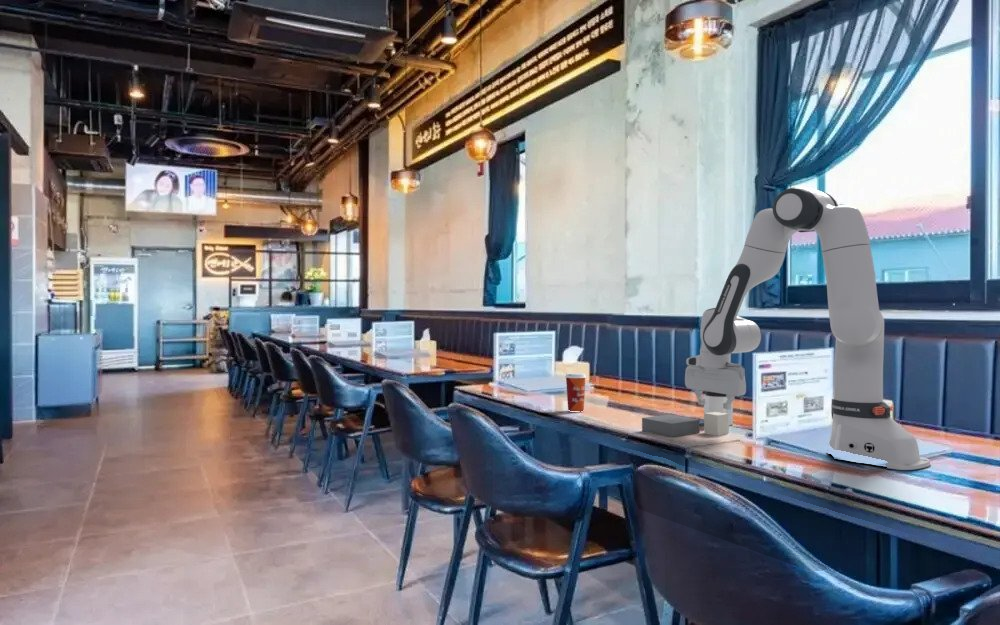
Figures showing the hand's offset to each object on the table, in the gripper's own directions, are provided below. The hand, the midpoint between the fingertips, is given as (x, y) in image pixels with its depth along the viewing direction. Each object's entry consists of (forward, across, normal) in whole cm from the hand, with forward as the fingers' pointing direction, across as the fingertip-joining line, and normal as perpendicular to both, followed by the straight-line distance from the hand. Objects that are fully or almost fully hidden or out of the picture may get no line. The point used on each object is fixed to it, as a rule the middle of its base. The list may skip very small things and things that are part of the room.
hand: (714, 407), depth 197 cm
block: (+8, -1, 0) cm, 8 cm away
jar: (+8, +9, -14) cm, 18 cm away
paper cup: (+9, +55, +8) cm, 57 cm away
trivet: (+8, +8, +10) cm, 15 cm away
